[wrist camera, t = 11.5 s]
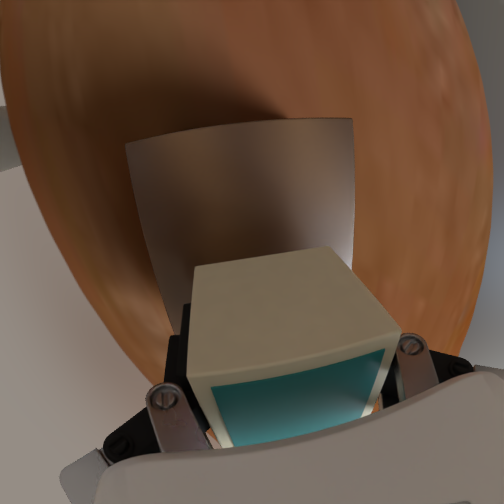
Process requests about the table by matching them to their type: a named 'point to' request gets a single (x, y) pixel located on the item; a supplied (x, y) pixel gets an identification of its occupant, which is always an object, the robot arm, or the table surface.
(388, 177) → the table surface
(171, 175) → the grey box shape
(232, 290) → the cube
